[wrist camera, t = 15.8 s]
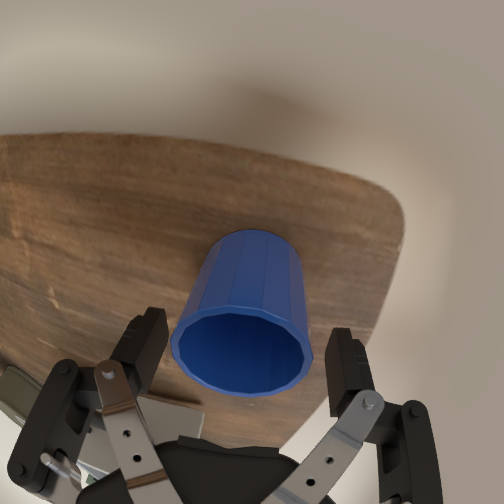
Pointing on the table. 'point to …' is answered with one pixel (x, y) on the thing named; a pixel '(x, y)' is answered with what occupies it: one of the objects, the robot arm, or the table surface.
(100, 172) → the table surface
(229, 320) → the cup
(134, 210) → the table surface
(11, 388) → the can
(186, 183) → the table surface
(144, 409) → the drawer
